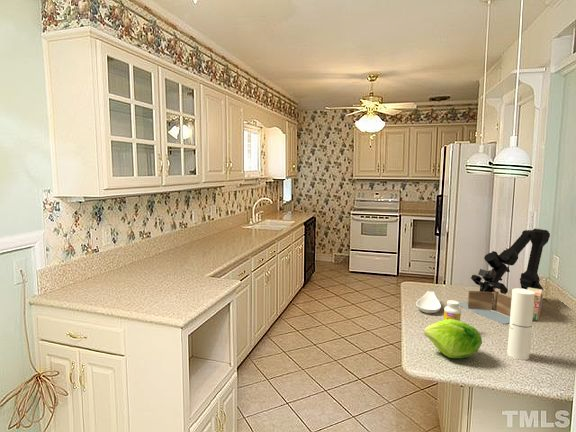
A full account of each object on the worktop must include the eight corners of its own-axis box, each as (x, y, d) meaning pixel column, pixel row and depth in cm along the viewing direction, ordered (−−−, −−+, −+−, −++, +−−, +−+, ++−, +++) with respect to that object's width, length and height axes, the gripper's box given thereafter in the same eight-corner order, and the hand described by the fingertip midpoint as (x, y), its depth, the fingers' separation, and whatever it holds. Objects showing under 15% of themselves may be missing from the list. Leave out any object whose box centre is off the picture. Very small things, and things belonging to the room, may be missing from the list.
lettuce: (420, 344, 155) (428, 310, 156) (474, 360, 148) (482, 325, 149) (420, 350, 141) (428, 313, 142) (480, 369, 134) (488, 330, 135)
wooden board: (467, 306, 196) (468, 290, 195) (490, 308, 194) (492, 292, 193) (468, 307, 195) (469, 291, 194) (491, 309, 193) (493, 293, 192)
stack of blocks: (527, 306, 201) (529, 283, 199) (541, 308, 197) (544, 285, 196) (522, 317, 184) (524, 292, 182) (538, 320, 180) (540, 295, 179)
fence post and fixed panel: (494, 309, 195) (495, 291, 194) (522, 320, 180) (523, 300, 179) (490, 309, 194) (492, 291, 193) (518, 320, 180) (519, 301, 179)
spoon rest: (440, 317, 184) (441, 303, 183) (414, 313, 189) (415, 299, 188) (441, 302, 205) (442, 289, 205) (418, 299, 210) (419, 286, 209)
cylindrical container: (520, 361, 141) (526, 295, 138) (502, 353, 148) (507, 289, 145) (533, 357, 144) (539, 293, 141) (515, 349, 150) (520, 287, 148)
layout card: (478, 300, 209) (478, 300, 208) (528, 320, 181) (528, 319, 181) (455, 303, 203) (455, 303, 203) (503, 324, 176) (503, 323, 176)
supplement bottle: (443, 332, 167) (444, 303, 165) (442, 326, 173) (444, 298, 171) (460, 334, 164) (462, 305, 163) (459, 328, 170) (460, 300, 169)
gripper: (474, 259, 204) (456, 282, 202) (504, 268, 187) (486, 293, 184) (484, 272, 208) (468, 294, 205) (515, 281, 190) (497, 306, 188)
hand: (479, 296), depth 196 cm, fingers closed
